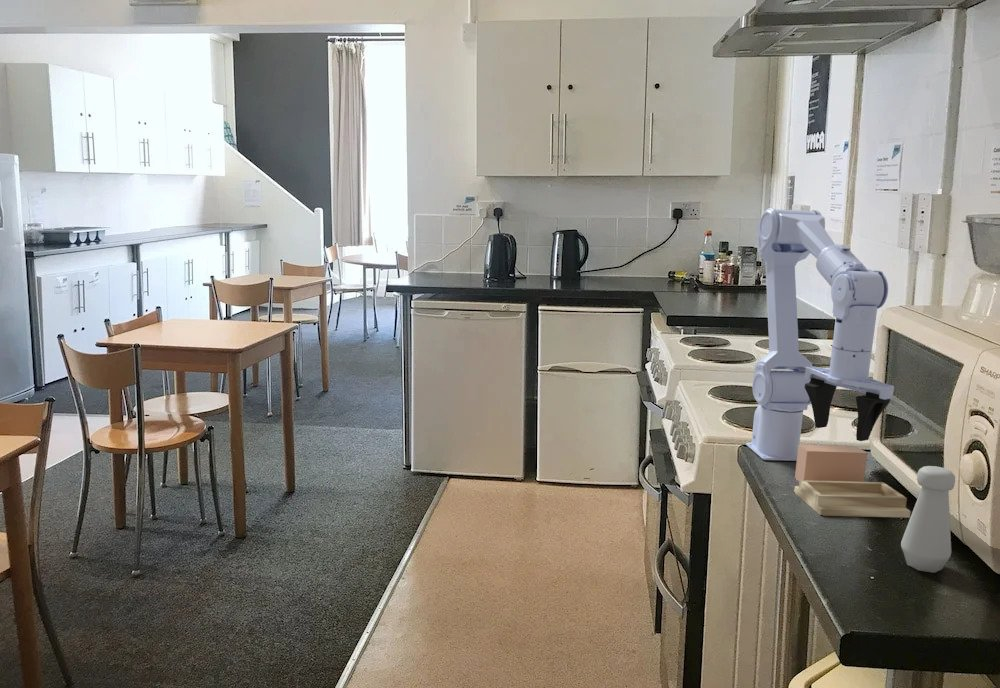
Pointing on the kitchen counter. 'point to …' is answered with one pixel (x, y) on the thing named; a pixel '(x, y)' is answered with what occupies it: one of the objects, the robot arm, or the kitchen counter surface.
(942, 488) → the salt shaker
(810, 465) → the clay block
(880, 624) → the kitchen counter surface
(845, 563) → the kitchen counter surface
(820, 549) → the kitchen counter surface
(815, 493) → the tray
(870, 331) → the robot arm
